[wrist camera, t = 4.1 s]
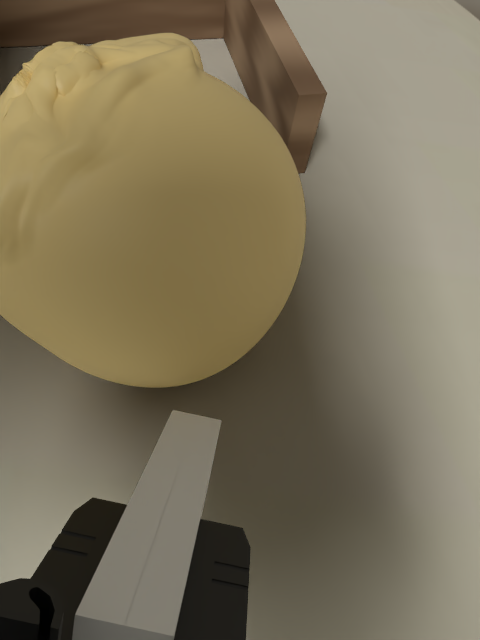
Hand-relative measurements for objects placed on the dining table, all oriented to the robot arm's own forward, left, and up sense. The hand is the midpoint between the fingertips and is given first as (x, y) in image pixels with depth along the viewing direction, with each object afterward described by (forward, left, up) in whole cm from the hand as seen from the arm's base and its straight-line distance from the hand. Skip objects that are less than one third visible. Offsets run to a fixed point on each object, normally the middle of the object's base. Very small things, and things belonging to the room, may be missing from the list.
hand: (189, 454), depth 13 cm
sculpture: (-9, 0, -4) cm, 10 cm away
